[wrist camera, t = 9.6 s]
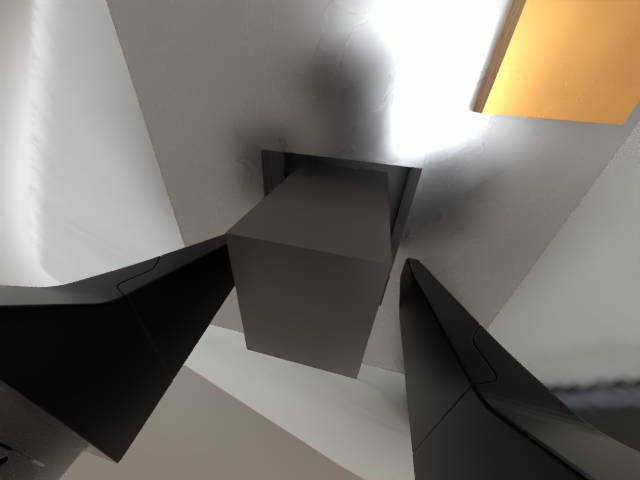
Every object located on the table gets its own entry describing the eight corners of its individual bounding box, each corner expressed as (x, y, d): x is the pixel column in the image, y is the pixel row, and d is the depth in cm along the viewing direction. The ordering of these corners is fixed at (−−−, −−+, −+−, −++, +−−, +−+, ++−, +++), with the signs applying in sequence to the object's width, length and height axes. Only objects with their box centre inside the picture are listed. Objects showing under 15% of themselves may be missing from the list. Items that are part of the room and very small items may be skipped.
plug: (368, 257, 14) (356, 378, 8) (302, 244, 14) (247, 349, 8) (387, 172, 11) (391, 264, 5) (304, 161, 11) (225, 232, 6)
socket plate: (437, 347, 16) (448, 398, 13) (228, 298, 19) (202, 333, 16) (664, -39, 6) (882, -140, 4) (154, -32, 9) (51, -88, 6)
